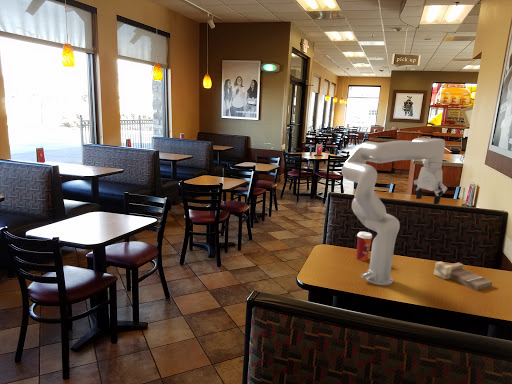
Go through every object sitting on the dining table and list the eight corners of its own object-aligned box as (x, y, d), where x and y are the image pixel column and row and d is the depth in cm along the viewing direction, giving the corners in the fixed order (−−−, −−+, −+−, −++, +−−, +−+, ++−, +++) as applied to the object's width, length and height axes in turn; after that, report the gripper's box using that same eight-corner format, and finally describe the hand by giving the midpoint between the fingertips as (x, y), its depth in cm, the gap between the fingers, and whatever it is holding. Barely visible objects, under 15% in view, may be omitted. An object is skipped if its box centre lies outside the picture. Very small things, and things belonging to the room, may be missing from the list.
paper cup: (366, 262, 190) (370, 237, 187) (352, 259, 194) (355, 233, 191) (371, 258, 197) (374, 233, 194) (357, 254, 201) (360, 230, 198)
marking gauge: (464, 274, 182) (467, 262, 181) (444, 279, 175) (446, 267, 174) (453, 269, 187) (455, 258, 186) (433, 274, 180) (435, 262, 179)
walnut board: (491, 286, 171) (492, 281, 170) (476, 290, 166) (477, 285, 165) (452, 269, 188) (453, 264, 188) (437, 272, 183) (438, 267, 183)
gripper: (411, 162, 176) (406, 197, 180) (444, 169, 162) (438, 206, 166) (422, 162, 180) (417, 196, 184) (455, 168, 165) (448, 205, 169)
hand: (427, 201), depth 175 cm, fingers open, 9 cm apart
